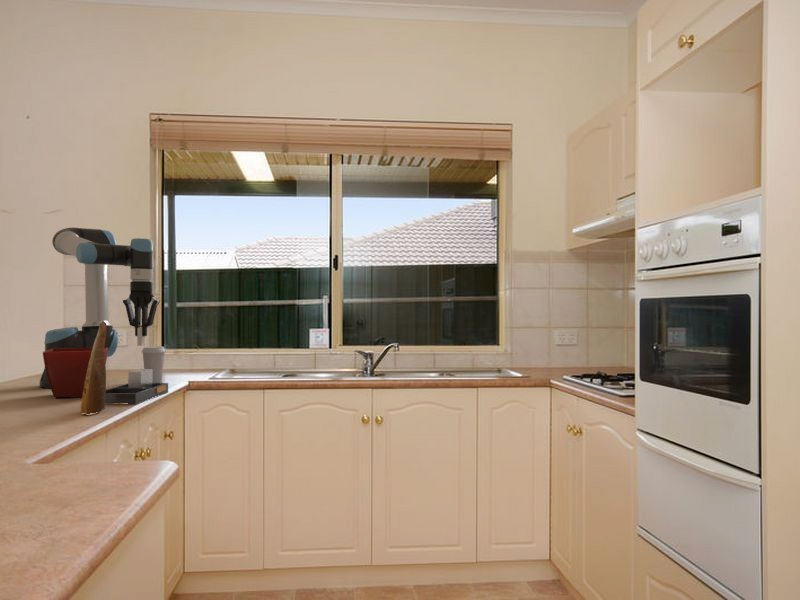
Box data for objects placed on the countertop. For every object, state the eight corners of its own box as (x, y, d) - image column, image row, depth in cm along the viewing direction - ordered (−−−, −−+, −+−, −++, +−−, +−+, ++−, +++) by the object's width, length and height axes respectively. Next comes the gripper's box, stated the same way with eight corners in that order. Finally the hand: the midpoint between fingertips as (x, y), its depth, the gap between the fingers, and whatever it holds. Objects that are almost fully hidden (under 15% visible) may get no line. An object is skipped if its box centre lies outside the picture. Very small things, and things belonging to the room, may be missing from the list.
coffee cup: (136, 382, 258) (136, 347, 258) (154, 380, 266) (155, 345, 266) (152, 384, 253) (152, 348, 254) (170, 381, 262) (170, 346, 262)
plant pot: (51, 393, 228) (51, 347, 228) (108, 390, 235) (108, 346, 235) (41, 400, 210) (41, 351, 210) (103, 398, 217) (103, 350, 217)
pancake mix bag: (113, 406, 201) (113, 320, 201) (101, 416, 182) (102, 322, 182) (90, 406, 199) (91, 320, 199) (76, 417, 180) (77, 322, 181)
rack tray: (92, 404, 204) (92, 393, 204) (129, 392, 232) (129, 382, 232) (136, 404, 204) (136, 393, 204) (169, 392, 232) (169, 383, 232)
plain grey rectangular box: (128, 394, 220) (128, 371, 220) (140, 390, 230) (140, 368, 230) (140, 394, 219) (140, 371, 220) (152, 390, 229) (152, 369, 230)
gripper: (119, 280, 221) (118, 345, 221) (154, 280, 221) (154, 346, 221) (128, 281, 229) (127, 344, 228) (163, 281, 228) (162, 344, 228)
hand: (140, 345), depth 225 cm, fingers closed
